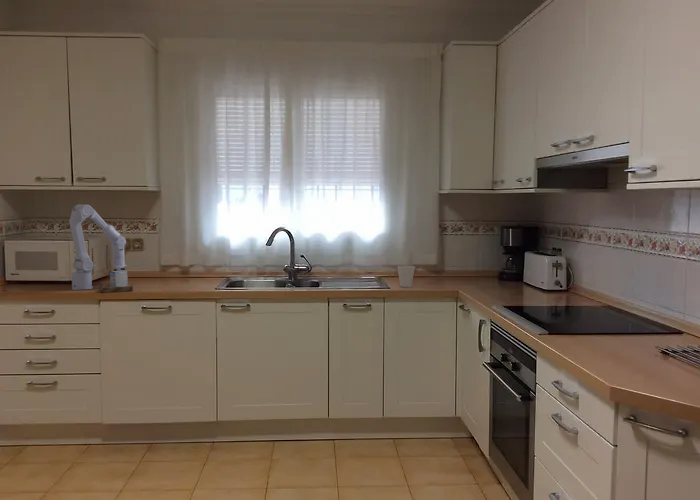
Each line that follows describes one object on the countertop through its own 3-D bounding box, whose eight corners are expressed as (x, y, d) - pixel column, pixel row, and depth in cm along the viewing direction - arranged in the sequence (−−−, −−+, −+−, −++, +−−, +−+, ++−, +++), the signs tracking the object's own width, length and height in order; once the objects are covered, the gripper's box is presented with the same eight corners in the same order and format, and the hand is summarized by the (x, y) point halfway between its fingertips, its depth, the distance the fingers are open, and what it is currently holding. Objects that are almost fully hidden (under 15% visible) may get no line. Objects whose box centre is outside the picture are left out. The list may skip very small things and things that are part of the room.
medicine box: (122, 285, 326) (122, 270, 325) (128, 286, 324) (127, 270, 323) (110, 287, 319) (109, 271, 318) (115, 288, 317) (115, 272, 316)
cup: (409, 285, 333) (410, 265, 332) (418, 287, 324) (418, 267, 323) (393, 285, 330) (393, 266, 329) (401, 288, 320) (401, 268, 319)
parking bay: (102, 292, 302) (102, 287, 302) (103, 289, 313) (103, 284, 313) (132, 291, 307) (132, 286, 307) (133, 288, 318) (133, 283, 317)
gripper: (126, 258, 322) (127, 283, 324) (127, 255, 336) (127, 279, 337) (112, 258, 320) (113, 283, 321) (113, 256, 334) (114, 280, 335)
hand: (119, 281), depth 329 cm, fingers closed
